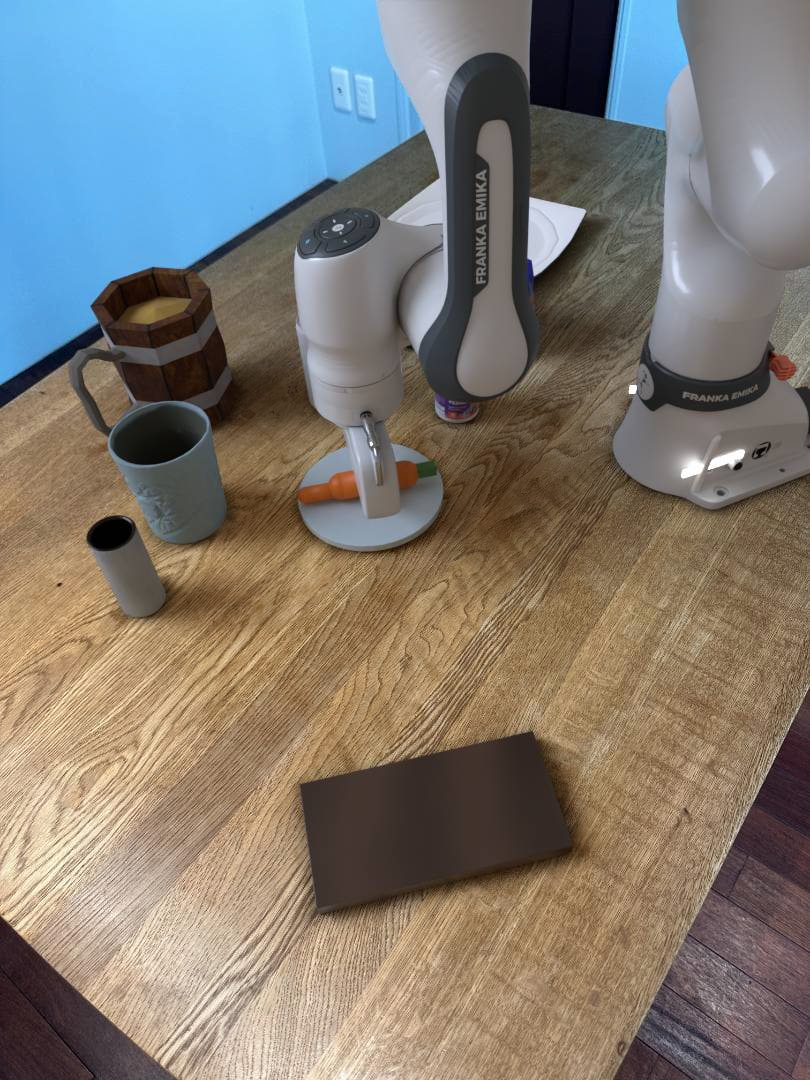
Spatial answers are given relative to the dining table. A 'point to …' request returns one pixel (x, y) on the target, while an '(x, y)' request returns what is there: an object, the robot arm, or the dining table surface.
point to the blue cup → (171, 469)
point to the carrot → (346, 488)
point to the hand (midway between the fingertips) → (369, 485)
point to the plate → (545, 234)
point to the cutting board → (430, 821)
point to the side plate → (346, 517)
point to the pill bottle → (455, 410)
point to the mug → (159, 344)
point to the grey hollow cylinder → (126, 565)
